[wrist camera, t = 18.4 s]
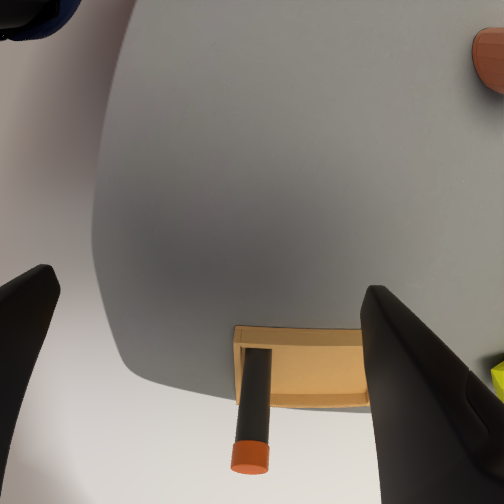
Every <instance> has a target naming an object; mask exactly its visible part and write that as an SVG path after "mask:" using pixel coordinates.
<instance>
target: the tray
mask: <svg viewBox="0 0 504 504" xmlns="http://www.w3.org/2000/svg"><path fill="white" fill-rule="evenodd" d="M233 347H234V367H235V385H236V403H237V405H239V401H240V391H241V382H242V373H243V364H244V355H245V348H262V349H272V369H271V395H270V407H288V408H330V407H357V406H370V400H369V394H368V388H367V382H366V376H365V369H364V359H363V344H362V331H361V330H349V329H296V328H271V327H252V326H236V327H235V334H234V341H233Z"/></svg>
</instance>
